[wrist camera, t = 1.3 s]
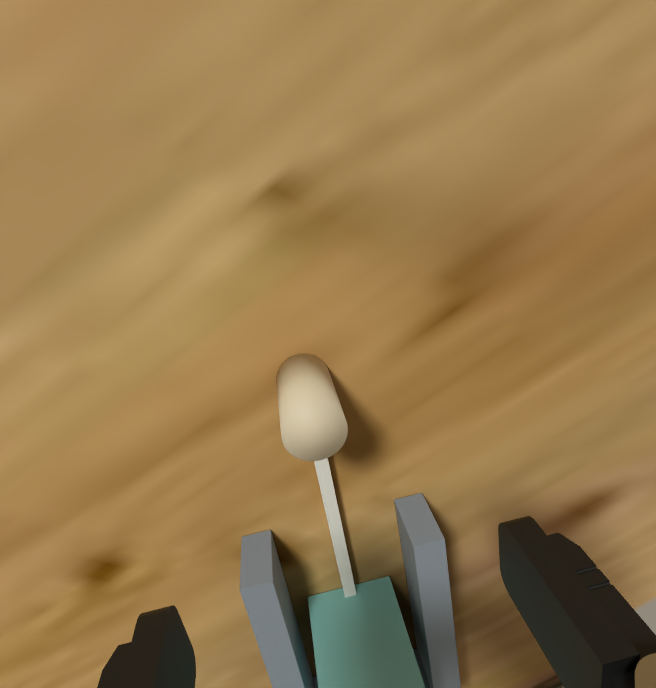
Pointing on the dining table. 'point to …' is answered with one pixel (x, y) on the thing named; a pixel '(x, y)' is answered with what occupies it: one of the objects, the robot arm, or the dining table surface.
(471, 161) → the dining table surface
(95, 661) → the dining table surface
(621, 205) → the dining table surface
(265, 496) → the dining table surface
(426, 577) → the lane
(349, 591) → the tethered block
